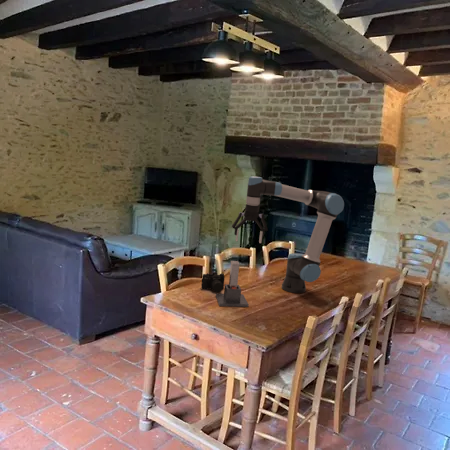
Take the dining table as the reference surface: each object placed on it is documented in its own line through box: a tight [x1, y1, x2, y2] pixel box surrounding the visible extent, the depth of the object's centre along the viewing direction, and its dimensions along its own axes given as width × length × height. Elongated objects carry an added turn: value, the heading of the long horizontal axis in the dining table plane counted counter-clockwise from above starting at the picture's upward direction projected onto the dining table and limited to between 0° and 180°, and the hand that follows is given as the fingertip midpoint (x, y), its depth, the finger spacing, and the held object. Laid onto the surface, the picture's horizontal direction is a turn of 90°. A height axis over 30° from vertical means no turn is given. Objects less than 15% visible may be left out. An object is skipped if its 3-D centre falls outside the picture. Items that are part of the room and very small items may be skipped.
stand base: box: [215, 283, 250, 308], centre depth 234 cm, size 16×16×10 cm
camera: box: [200, 271, 226, 293], centre depth 250 cm, size 14×11×10 cm
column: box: [228, 260, 241, 289], centre depth 233 cm, size 4×6×21 cm, turn 8°
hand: (248, 241), depth 236 cm, fingers open, 13 cm apart
